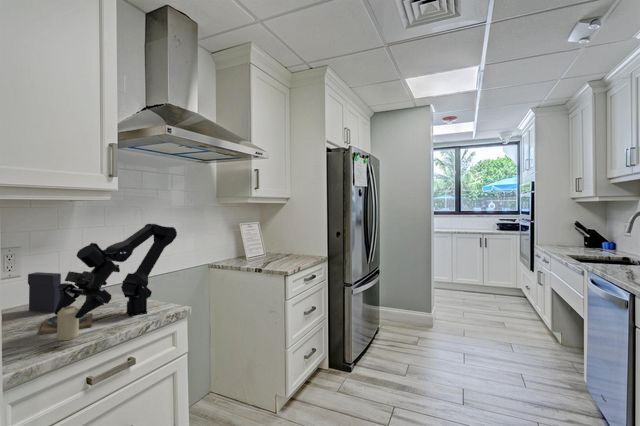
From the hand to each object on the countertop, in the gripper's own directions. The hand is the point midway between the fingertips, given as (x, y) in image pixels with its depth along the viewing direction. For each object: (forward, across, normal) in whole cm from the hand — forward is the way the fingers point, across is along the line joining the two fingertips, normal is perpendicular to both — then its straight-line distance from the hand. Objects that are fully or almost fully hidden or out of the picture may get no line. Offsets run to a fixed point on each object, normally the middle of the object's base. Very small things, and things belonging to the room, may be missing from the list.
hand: (65, 316), depth 105 cm
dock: (-1, -12, +11) cm, 16 cm away
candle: (+5, 0, +6) cm, 8 cm away
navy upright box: (-6, -34, +16) cm, 38 cm away
